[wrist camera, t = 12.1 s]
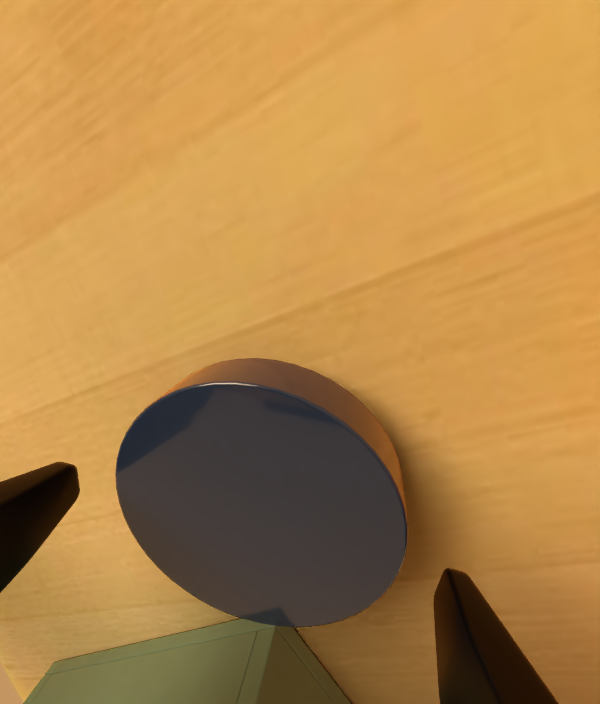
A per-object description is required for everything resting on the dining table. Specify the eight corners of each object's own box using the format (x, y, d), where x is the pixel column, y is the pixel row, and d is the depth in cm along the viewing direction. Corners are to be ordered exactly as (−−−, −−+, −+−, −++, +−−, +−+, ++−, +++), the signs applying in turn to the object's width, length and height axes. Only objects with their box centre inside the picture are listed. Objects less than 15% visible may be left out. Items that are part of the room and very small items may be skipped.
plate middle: (250, 567, 12) (221, 646, 10) (128, 408, 11) (61, 455, 8) (444, 510, 10) (467, 597, 7) (315, 296, 8) (294, 318, 6)
